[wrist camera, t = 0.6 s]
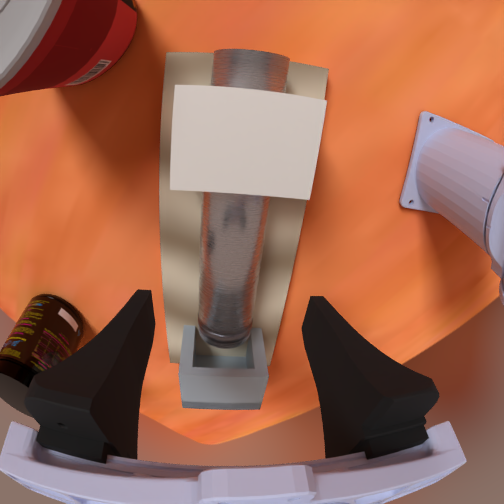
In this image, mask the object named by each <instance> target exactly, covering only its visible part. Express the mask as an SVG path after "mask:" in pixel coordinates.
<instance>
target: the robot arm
mask: <svg viewBox="0 0 504 504" xmlns="http://www.w3.org/2000/svg"><path fill="white" fill-rule="evenodd" d="M430 117H431V122H430V121H429V118H430ZM410 200H411V203H410V204H409V201H410ZM400 205H401V206H403V207H404V208H410V209H416V210H422V211H428V212H434V213H440V214H441V215H442V216H443V217H445V218H446V219H447V220H448V221H450V222H451V223H452V224H453V225H455V226H456V227H457V228H458V229H460V230H461V231H462V232H463V233H464V234H466V235H467V236H468V237H469V238H470V239H471V240H473V241H474V242H475V243H476V244H477V245H478V246H480V247H481V248H482V249H483V250H484V251H485V252H486V253H487V254H488V255H490V257H491V259H492V265H491V269H492V270H493V271H494V272H495V273H496V274H497V275H498V276H499V277H500V278H501V281H500V284H499V294H500V299H501V302H502V304H503V306H504V146H502V145H500V144H497V143H495V142H494V141H493V140H491V139H489V138H487V137H485V136H483V135H481V134H479V133H477V132H474V131H472V130H470V129H468V128H466V127H463V126H461V125H459V124H457V123H454V122H452V121H450V120H447V119H445V118H442V117H440V116H437V115H435V114H432V113H429V112H426V111H423V112H421V113H420V116H419V122H418V127H417V131H416V136H415V141H414V145H413V150H412V154H411V158H410V163H409V167H408V171H407V175H406V178H405V182H404V186H403V190H402V193H401V197H400ZM154 331H155V317H154V310H153V302H152V294H151V290H139V289H138V290H137V291H136V292H135V293H134V295H133V296H132V297H131V298H130V299H129V301H128V302H127V303H126V304H125V306H124V307H123V308H122V309H121V310H120V311H119V313H118V314H117V315H116V316H115V317H114V318H113V319H112V320H111V321H110V322H109V323H108V325H107V326H106V327H105V328H104V329H103V330H102V331H101V332H100V333H99V334H98V335H96V336H95V337H94V338H93V339H92V340H91V341H90V342H89V343H87V344H86V345H85V346H84V347H82V348H81V349H79V350H78V351H77V352H75V353H74V354H73V355H71V356H70V357H68V358H66V359H65V360H63V361H62V362H60V363H58V364H56V365H55V366H53V367H51V368H49V369H47V370H45V371H43V372H40V373H38V374H36V375H34V377H33V379H32V381H31V383H30V386H29V389H28V391H27V394H26V396H25V399H24V405H25V407H26V409H27V410H28V412H29V413H30V414H31V415H32V416H33V418H34V419H35V420H36V421H37V422H38V423H39V424H40V429H39V432H38V431H37V430H35V429H33V428H31V427H29V426H26V425H23V424H20V423H17V422H15V421H12V422H11V424H10V427H9V430H8V433H7V436H6V439H5V443H4V446H3V449H2V452H1V456H0V470H1V471H2V472H3V473H5V474H6V475H8V476H9V477H11V478H12V479H14V480H15V481H17V482H18V483H20V484H21V485H23V486H24V487H26V488H28V489H30V490H33V491H35V492H38V493H40V494H43V495H45V496H48V497H50V498H53V499H56V500H58V501H61V502H64V503H67V504H383V503H386V502H389V501H392V500H394V499H397V498H400V497H402V496H405V495H407V494H410V493H412V492H415V491H417V490H419V489H422V488H424V487H426V486H429V485H431V484H433V483H436V482H437V481H439V480H441V479H442V478H444V477H445V476H447V475H448V474H450V473H451V472H453V471H454V470H456V469H457V468H459V467H460V466H461V465H463V464H464V463H466V458H465V456H464V453H463V451H462V449H461V447H460V444H459V442H458V440H457V438H456V435H455V433H454V431H453V429H452V426H451V424H450V422H449V421H446V422H443V423H440V424H438V425H435V426H432V427H430V428H428V429H427V430H425V427H424V424H426V419H425V417H424V416H425V415H426V413H427V412H428V411H429V410H430V409H431V408H432V407H433V406H434V405H435V403H436V402H437V400H438V398H439V392H438V390H437V389H436V386H435V384H434V382H433V381H432V379H431V378H429V377H427V376H424V375H422V374H419V373H417V372H415V371H413V370H411V369H409V368H407V367H405V366H403V365H401V364H400V363H398V362H396V361H394V360H393V359H391V358H390V357H388V356H387V355H385V354H384V353H382V352H381V351H380V350H378V349H377V348H376V347H374V346H373V345H372V344H370V343H369V342H368V341H367V340H366V339H364V338H363V337H362V336H361V335H360V334H359V333H358V332H357V331H356V330H355V329H354V328H353V327H352V326H351V325H350V324H349V323H348V322H347V321H346V320H345V319H344V318H343V317H342V316H341V315H340V314H339V313H338V312H337V311H336V310H335V309H334V308H333V306H332V305H331V304H330V303H329V302H328V301H327V300H326V299H325V298H324V297H323V296H310V300H309V304H308V307H307V311H306V314H305V318H304V322H303V325H302V334H303V340H304V346H305V350H306V353H307V357H308V360H309V363H310V367H311V370H312V373H313V376H314V380H315V383H316V387H317V391H318V396H319V402H320V408H321V414H322V422H323V431H324V440H325V455H326V456H325V457H326V459H320V460H313V461H305V462H297V463H287V464H275V465H259V466H197V465H196V466H195V465H180V464H167V463H158V462H150V461H142V460H137V438H138V420H139V408H140V398H141V390H142V384H143V380H144V376H145V372H146V368H147V364H148V360H149V356H150V352H151V348H152V344H153V338H154Z"/></svg>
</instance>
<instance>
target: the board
mask: <svg viewBox="0 0 504 504" xmlns="http://www.w3.org/2000/svg"><path fill="white" fill-rule="evenodd" d="M213 57H214V53H199V52H167V53H166V62H165V72H164V84H163V97H162V112H161V131H160V164H159V214H160V247H161V267H162V283H163V297H164V309H165V320H166V330H167V339H168V348H169V357H170V363H180V355H181V346H182V337H183V328H184V325H191V326H195V340H196V355H208V356H240V357H246V352H247V345H248V340H247V341H246V342H245V343H244V344H242V345H240V346H238V347H235V348H230V349H222V348H217V347H214V346H211V345H209V344H208V343H206V342H205V341H204V340H203V339H202V338H201V336H200V334H199V328H198V312H199V255H200V225H201V203H202V191H183V190H170V161H171V136H172V118H173V103H174V90H175V85H202V86H210V84H211V75H212V66H213ZM328 70H329V69H326V68H322V67H317V66H312V65H307V64H302V63H296V62H289V70H288V77H287V85H286V92H285V93H286V94H293V95H299V96H305V97H310V98H316V99H321V100H324V98H325V91H326V84H327V78H328ZM306 202H307V200H305V199H295V198H284V197H273V196H271V199H270V206H269V212H268V219H267V226H266V233H265V240H264V246H263V253H262V259H261V266H260V273H259V279H258V286H257V292H256V299H255V305H254V312H253V322H252V328H261V329H262V335H263V342H264V348H265V355H266V361H267V366H270V363H271V359H272V355H273V351H274V347H275V343H276V339H277V335H278V331H279V327H280V322H281V318H282V314H283V310H284V305H285V301H286V297H287V292H288V288H289V283H290V279H291V274H292V270H293V265H294V261H295V256H296V251H297V246H298V242H299V237H300V232H301V227H302V222H303V217H304V212H305V207H306ZM248 339H249V338H248Z"/></svg>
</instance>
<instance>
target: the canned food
mask: <svg viewBox="0 0 504 504" xmlns="http://www.w3.org/2000/svg"><path fill="white" fill-rule="evenodd" d="M136 23H137V6H136V3H135V0H0V96H4V95H9V94H15V93H20V92H26V91H33V90H40V89H47V88H56V87H65V86H75V85H80V84H84V83H86V82H89V81H91V80H93V79H95V78H97V77H98V76H100V75H102V74H103V73H104V72H106V71H107V70H108V69H109V68H111V67H112V66H113V65H114V64H115V63H116V62H117V61H118V60H119V59H120V58H121V57H122V55H123V54H124V52H125V51H126V50H127V48H128V46H129V44H130V42H131V40H132V38H133V36H134V32H135V29H136Z"/></svg>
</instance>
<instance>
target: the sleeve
mask: <svg viewBox="0 0 504 504" xmlns="http://www.w3.org/2000/svg"><path fill="white" fill-rule="evenodd" d="M326 104H327V101H326V100H321V99H316V98H310V97H305V96H299V95H293V94H286V93H279V92H272V91H264V90H255V89H245V88H234V87H221V86H202V85H175V90H174V103H173V118H172V136H171V161H170V190H183V191H203V192H220V193H235V194H249V195H261V196H273V197H284V198H295V199H305V200H310V195H311V190H312V185H313V180H314V174H315V169H316V164H317V158H318V152H319V147H320V141H321V135H322V129H323V123H324V117H325V111H326Z"/></svg>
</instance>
